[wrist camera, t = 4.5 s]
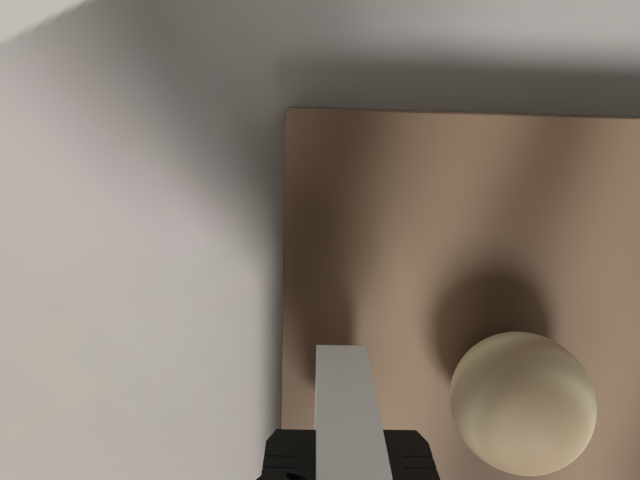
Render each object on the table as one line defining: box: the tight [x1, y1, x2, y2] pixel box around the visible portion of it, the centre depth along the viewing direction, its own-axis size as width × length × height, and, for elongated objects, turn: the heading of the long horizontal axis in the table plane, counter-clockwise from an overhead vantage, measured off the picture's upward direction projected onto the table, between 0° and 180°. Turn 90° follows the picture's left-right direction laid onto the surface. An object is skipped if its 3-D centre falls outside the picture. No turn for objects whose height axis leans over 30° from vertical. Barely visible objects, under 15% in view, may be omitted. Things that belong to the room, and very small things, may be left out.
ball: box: [449, 331, 597, 476], centre depth 16 cm, size 4×4×4 cm
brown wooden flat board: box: [281, 107, 640, 480], centre depth 20 cm, size 24×16×2 cm, turn 88°
